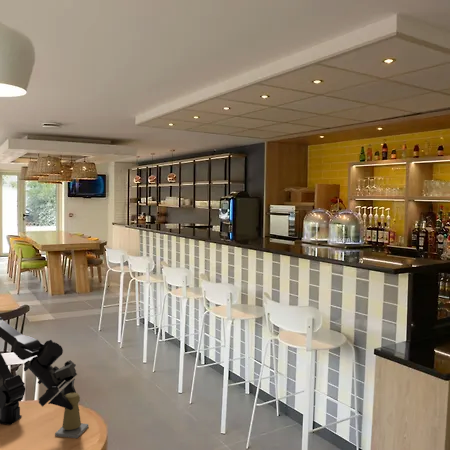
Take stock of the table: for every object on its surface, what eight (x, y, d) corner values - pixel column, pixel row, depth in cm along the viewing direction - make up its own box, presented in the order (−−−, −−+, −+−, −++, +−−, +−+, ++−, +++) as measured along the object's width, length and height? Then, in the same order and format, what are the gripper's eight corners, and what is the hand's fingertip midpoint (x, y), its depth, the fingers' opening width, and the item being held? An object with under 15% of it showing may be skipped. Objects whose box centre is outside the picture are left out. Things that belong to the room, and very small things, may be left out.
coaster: (55, 436, 153) (55, 433, 153) (67, 424, 161) (67, 421, 161) (77, 438, 152) (77, 435, 152) (88, 426, 160) (88, 424, 160)
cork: (73, 431, 153) (73, 399, 152) (58, 427, 155) (58, 396, 154) (84, 422, 158) (84, 392, 158) (70, 419, 161) (70, 389, 160)
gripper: (48, 366, 146) (81, 401, 146) (72, 347, 165) (101, 379, 165) (24, 388, 147) (57, 424, 147) (50, 367, 166) (80, 399, 166)
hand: (75, 405), depth 156 cm, fingers closed on cork, 5 cm apart
